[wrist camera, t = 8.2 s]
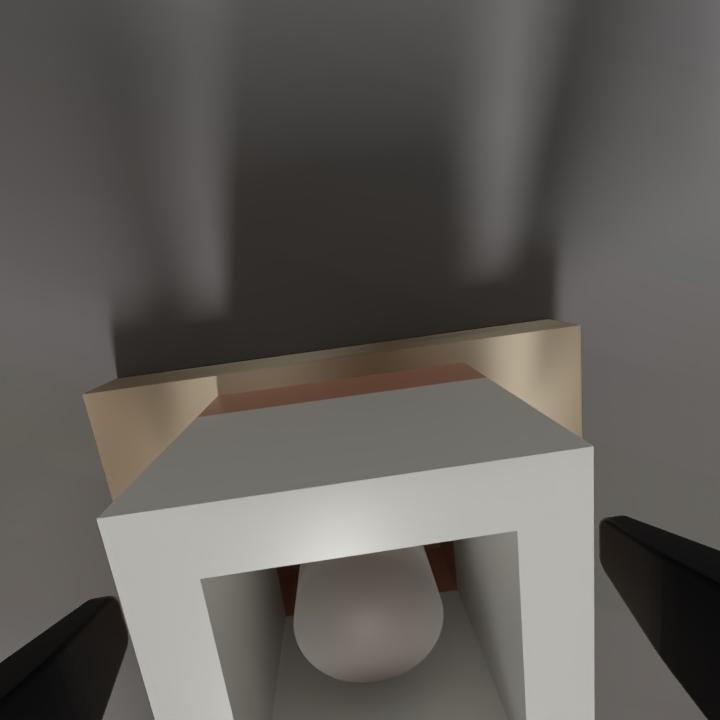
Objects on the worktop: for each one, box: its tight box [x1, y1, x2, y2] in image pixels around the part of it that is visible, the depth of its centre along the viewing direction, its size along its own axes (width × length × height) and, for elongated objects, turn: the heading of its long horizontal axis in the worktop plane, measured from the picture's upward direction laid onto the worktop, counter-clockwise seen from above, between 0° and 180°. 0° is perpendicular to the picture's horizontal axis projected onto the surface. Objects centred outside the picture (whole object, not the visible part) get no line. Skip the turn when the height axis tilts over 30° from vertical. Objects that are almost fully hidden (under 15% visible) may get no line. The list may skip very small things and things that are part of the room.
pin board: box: [82, 319, 582, 683], centre depth 10 cm, size 12×16×6 cm
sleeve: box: [97, 363, 594, 720], centre depth 8 cm, size 6×6×5 cm
